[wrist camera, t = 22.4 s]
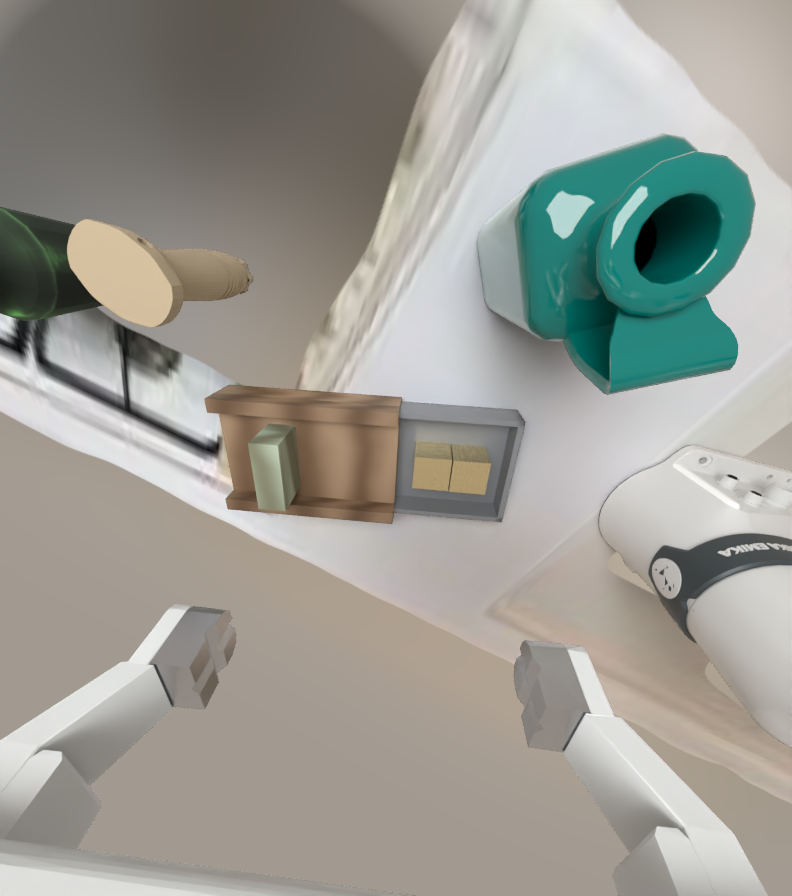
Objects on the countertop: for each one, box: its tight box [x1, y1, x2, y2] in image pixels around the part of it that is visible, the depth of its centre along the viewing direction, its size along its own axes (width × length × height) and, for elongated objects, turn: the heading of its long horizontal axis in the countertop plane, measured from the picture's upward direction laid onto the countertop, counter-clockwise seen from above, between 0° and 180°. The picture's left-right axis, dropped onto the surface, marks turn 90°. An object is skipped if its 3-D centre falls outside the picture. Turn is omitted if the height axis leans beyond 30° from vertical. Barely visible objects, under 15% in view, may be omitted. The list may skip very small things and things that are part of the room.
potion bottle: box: [0, 207, 103, 321], centre depth 27 cm, size 8×8×18 cm
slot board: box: [204, 385, 402, 524], centre depth 40 cm, size 20×14×5 cm
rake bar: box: [248, 423, 300, 511], centre depth 38 cm, size 3×8×5 cm, turn 177°
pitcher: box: [477, 134, 756, 395], centre depth 23 cm, size 10×8×22 cm
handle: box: [67, 219, 253, 328], centre depth 28 cm, size 5×6×15 cm
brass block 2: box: [448, 444, 491, 495], centre depth 39 cm, size 4×4×4 cm
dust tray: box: [394, 402, 525, 522], centre depth 40 cm, size 13×13×4 cm
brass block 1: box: [412, 441, 452, 491], centre depth 40 cm, size 4×4×4 cm
